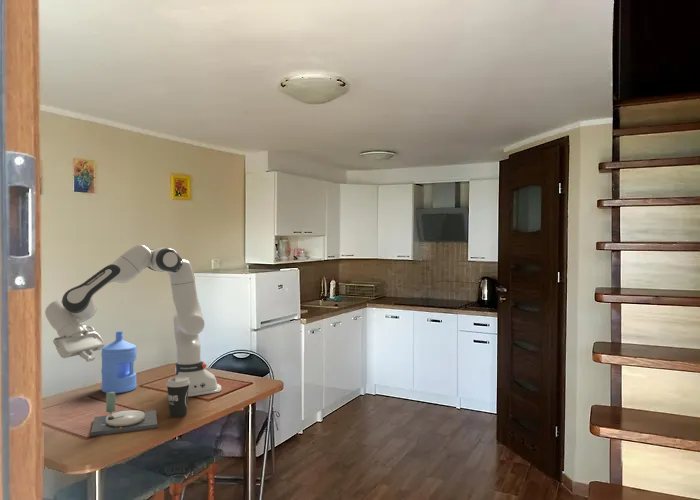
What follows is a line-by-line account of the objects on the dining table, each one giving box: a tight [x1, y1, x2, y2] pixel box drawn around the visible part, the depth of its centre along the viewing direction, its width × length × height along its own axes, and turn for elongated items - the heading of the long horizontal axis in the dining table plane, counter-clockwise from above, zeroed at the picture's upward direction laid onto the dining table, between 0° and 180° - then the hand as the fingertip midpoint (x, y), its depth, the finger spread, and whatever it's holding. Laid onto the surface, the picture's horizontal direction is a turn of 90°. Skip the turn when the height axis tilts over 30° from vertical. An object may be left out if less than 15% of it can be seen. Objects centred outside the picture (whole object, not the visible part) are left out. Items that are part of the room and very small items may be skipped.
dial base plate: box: [90, 409, 158, 437], centre depth 202 cm, size 23×18×2 cm
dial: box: [105, 392, 145, 426], centre depth 202 cm, size 14×14×12 cm
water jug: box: [100, 331, 137, 394], centre depth 250 cm, size 16×16×28 cm
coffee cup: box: [165, 376, 190, 419], centre depth 213 cm, size 10×10×15 cm
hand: (91, 360), depth 209 cm, fingers closed
